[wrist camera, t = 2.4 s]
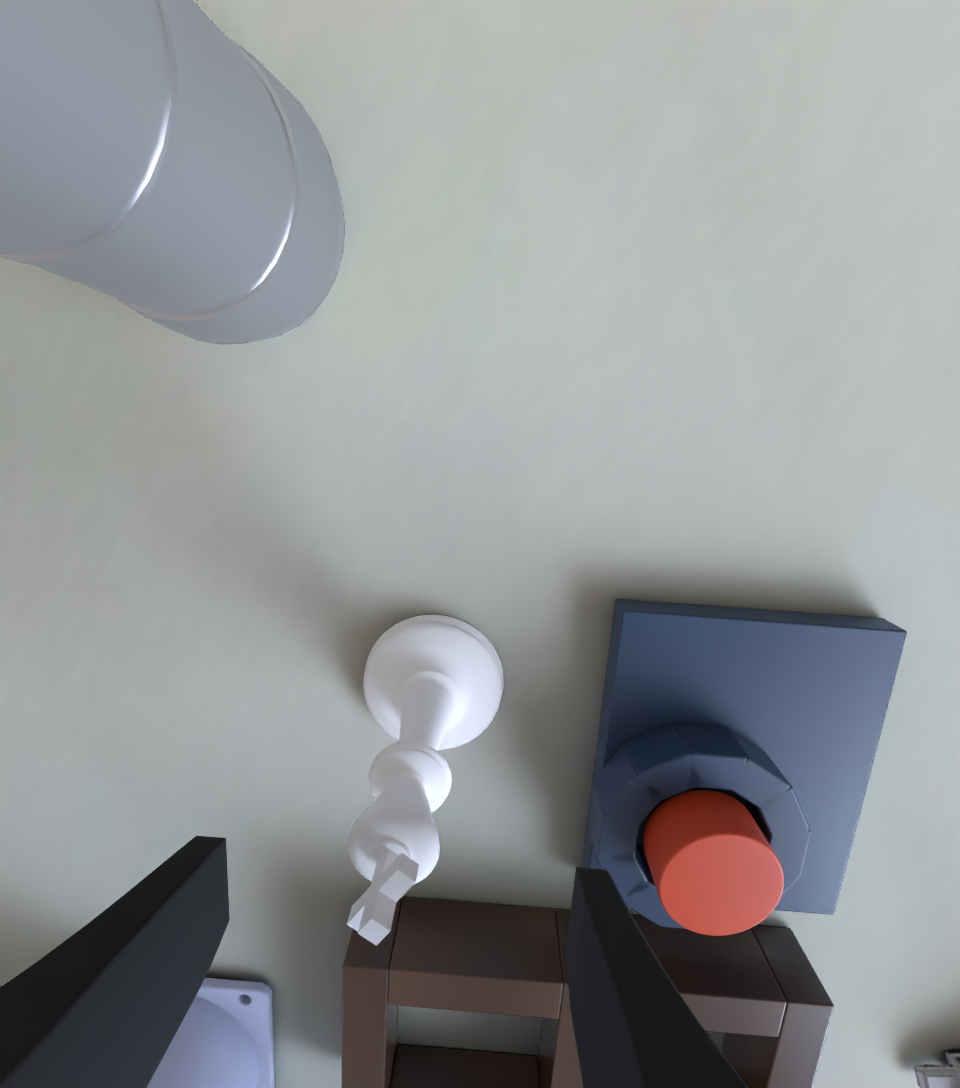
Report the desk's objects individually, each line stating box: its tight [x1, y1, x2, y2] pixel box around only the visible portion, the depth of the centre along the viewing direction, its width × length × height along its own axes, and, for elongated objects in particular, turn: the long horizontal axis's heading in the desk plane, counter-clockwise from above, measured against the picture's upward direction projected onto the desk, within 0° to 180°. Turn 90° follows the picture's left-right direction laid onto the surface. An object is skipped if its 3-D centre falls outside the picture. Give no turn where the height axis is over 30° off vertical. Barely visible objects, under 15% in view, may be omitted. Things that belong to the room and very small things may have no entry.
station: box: [581, 599, 907, 929], centre depth 19 cm, size 9×11×3 cm
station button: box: [643, 790, 784, 936], centre depth 17 cm, size 4×4×2 cm
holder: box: [341, 897, 834, 1088], centre depth 22 cm, size 17×9×3 cm, turn 86°
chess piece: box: [347, 615, 504, 946], centre depth 15 cm, size 5×5×10 cm
